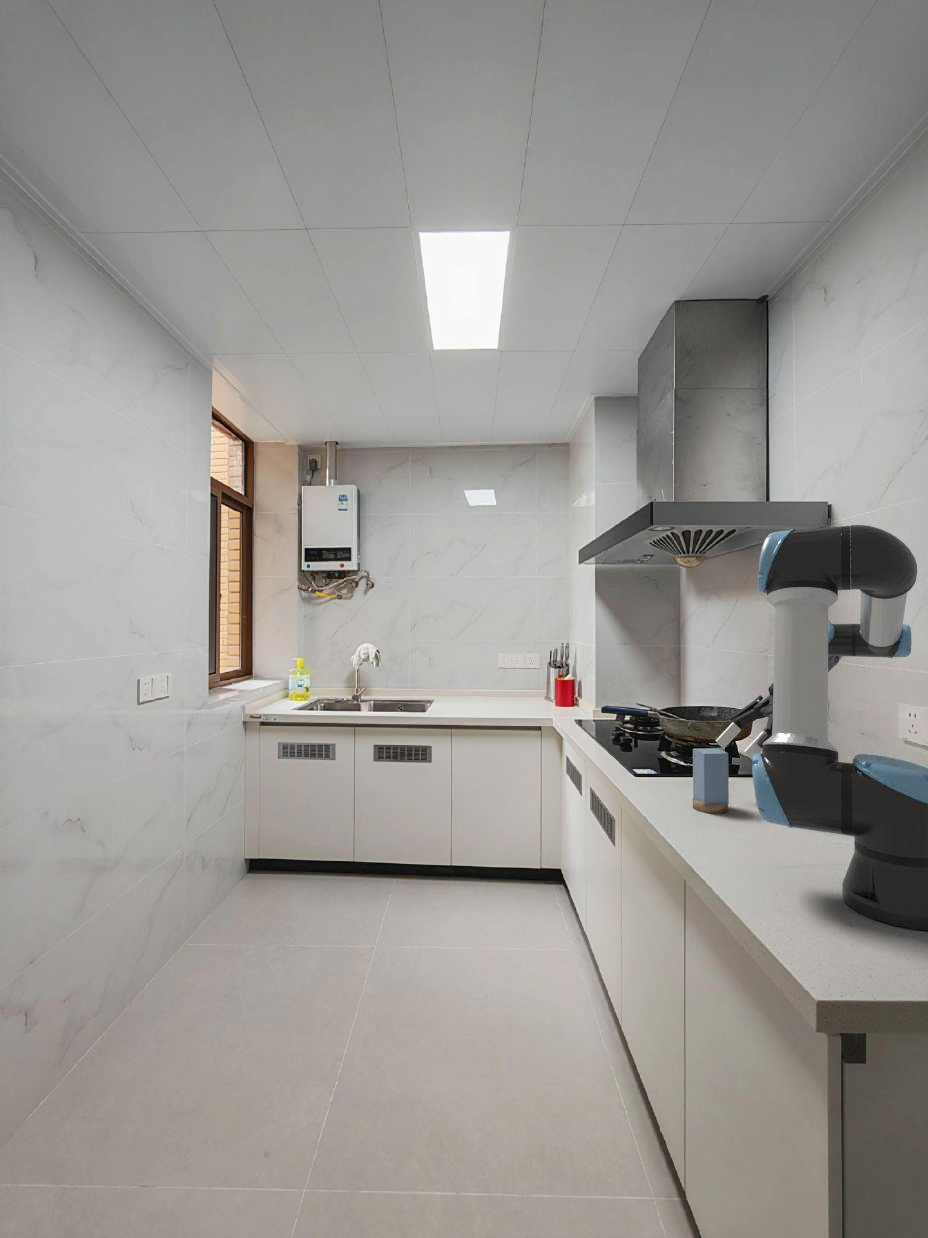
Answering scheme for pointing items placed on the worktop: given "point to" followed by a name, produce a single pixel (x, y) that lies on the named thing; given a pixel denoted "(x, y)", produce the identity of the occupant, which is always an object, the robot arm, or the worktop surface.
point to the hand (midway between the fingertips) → (733, 750)
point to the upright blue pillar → (710, 776)
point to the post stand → (710, 807)
